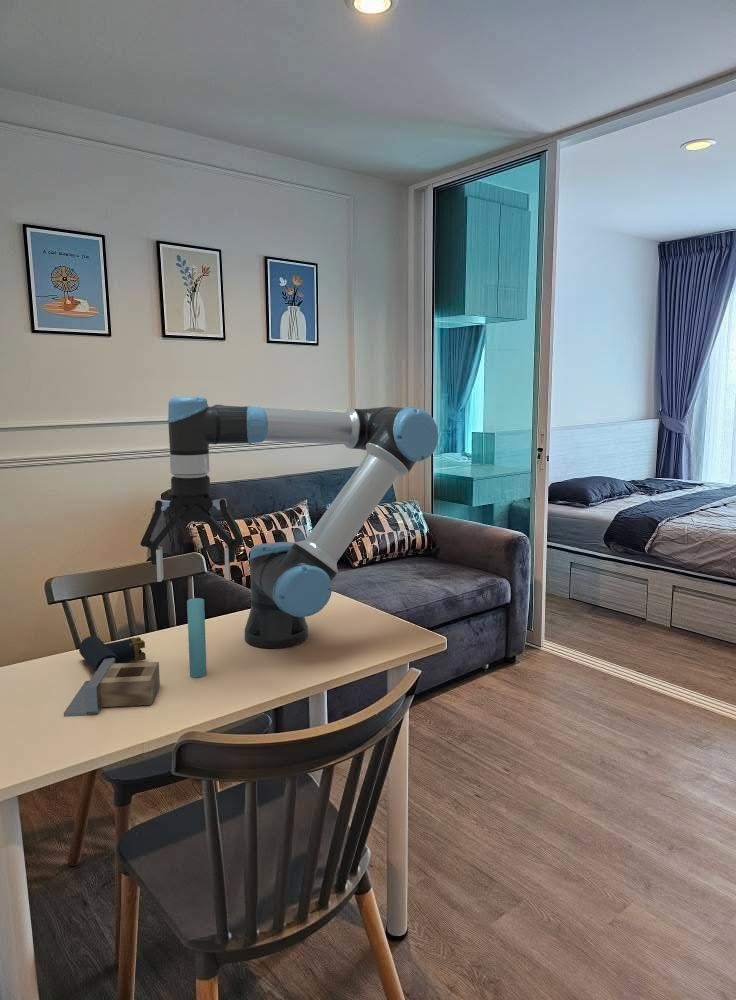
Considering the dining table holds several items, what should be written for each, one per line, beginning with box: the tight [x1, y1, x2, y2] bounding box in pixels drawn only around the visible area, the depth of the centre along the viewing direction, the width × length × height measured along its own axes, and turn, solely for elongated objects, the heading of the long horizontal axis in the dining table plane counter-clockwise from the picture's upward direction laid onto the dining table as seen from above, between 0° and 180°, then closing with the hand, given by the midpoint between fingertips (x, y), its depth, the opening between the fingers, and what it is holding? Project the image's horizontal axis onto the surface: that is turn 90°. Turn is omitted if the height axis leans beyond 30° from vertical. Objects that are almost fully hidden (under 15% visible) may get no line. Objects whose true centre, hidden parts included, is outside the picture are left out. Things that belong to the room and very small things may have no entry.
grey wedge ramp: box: [63, 658, 115, 717], centre depth 131 cm, size 6×14×5 cm, turn 7°
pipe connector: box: [78, 635, 147, 673], centre depth 146 cm, size 12×5×15 cm
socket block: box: [100, 661, 161, 708], centre depth 131 cm, size 9×9×5 cm
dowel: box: [186, 597, 208, 679], centre depth 141 cm, size 3×3×16 cm
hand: (194, 578), depth 139 cm, fingers open, 13 cm apart
